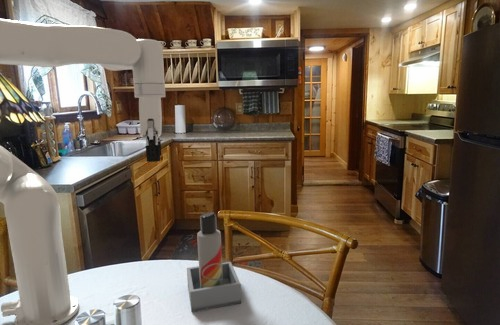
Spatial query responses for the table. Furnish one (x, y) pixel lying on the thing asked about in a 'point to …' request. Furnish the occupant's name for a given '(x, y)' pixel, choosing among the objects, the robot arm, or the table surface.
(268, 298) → the table surface
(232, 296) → the box
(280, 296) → the table surface
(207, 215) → the lotion bottle
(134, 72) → the robot arm
